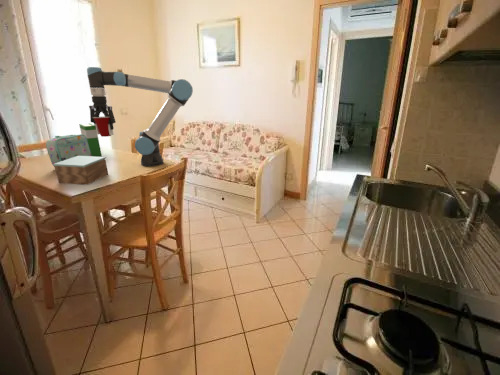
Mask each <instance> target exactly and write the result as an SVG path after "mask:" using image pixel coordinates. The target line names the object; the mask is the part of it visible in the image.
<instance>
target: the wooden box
mask: <svg viewBox="0 0 500 375" xmlns="http://www.w3.org/2000/svg"><path fill="white" fill-rule="evenodd" d="M53 167H54V170H55V173H56V178H57V182H58V183H59V184H69V185H71V184H73V185H85V186H87V185H90V184H92V183H94V182H97V181H98V180H101V179H103V178H104V177H108V176H109V172H108V165H107V161H106V159H104V160H101V161H99V162H96V163H94V164H91V165H89V166H86V167H67V166H53Z"/></svg>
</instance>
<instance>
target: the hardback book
mask: <svg viewBox="0 0 500 375" xmlns="http://www.w3.org/2000/svg"><path fill="white" fill-rule="evenodd" d="M79 128H80V134H82V135H85V136H86V138H87V140H88V144H89V148H90V151H91V156H95V157H103V155H102V150H101V146H100V140H99V136H98V135H99V134H97V131H96V129H95V125H94V123H91V122H89V123H88V124H81V123H79Z"/></svg>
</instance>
